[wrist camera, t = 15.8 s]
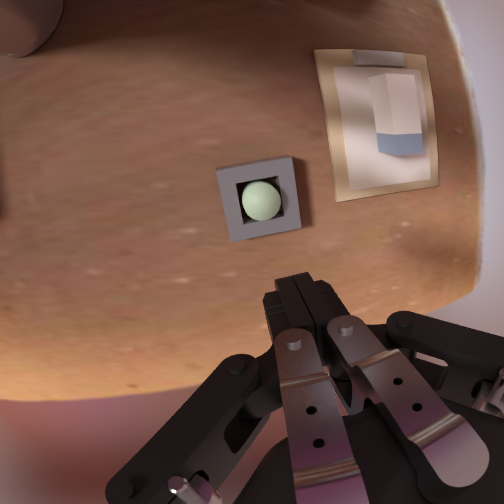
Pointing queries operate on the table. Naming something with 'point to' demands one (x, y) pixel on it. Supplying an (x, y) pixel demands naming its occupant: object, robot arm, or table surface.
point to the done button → (260, 200)
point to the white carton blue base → (396, 113)
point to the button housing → (252, 171)
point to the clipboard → (372, 123)
